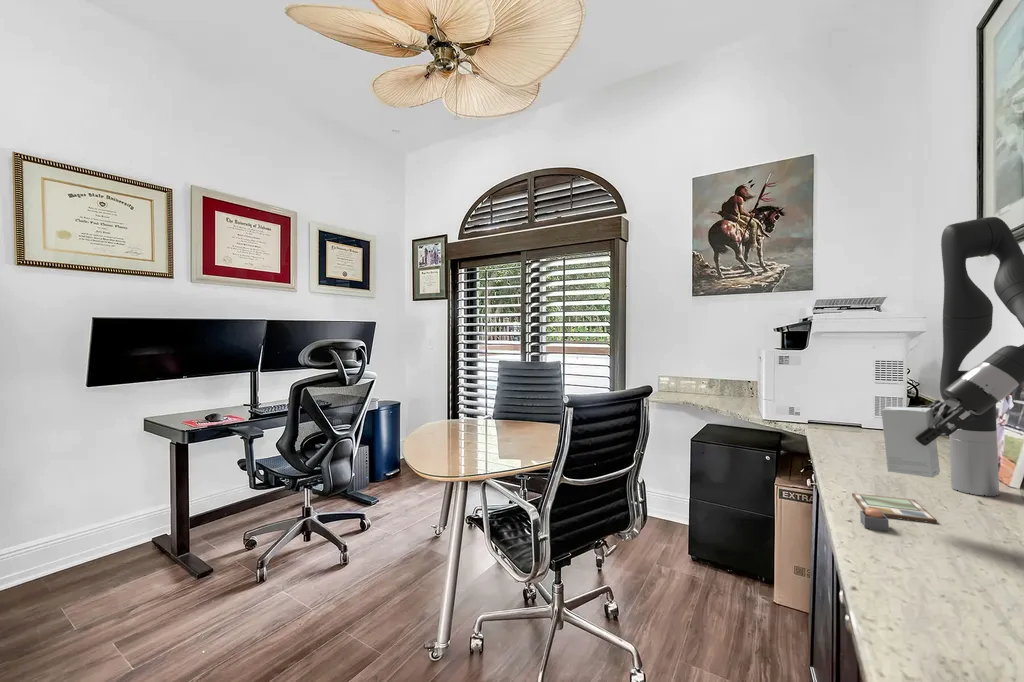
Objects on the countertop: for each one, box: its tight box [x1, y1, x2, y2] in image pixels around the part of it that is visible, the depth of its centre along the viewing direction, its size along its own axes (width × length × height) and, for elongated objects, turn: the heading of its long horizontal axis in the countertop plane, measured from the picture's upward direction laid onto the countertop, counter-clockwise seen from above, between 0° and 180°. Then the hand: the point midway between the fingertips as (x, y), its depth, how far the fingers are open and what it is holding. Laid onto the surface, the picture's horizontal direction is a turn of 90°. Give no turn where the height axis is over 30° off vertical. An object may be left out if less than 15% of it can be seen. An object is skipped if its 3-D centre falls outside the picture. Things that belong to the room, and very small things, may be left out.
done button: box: [865, 508, 882, 518], centre depth 101 cm, size 3×3×2 cm
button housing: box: [859, 510, 890, 532], centre depth 101 cm, size 4×4×3 cm
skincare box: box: [880, 406, 941, 479], centre depth 102 cm, size 8×6×15 cm
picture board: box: [851, 492, 938, 524], centre depth 112 cm, size 15×13×1 cm
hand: (913, 438), depth 101 cm, fingers closed on skincare box, 7 cm apart
